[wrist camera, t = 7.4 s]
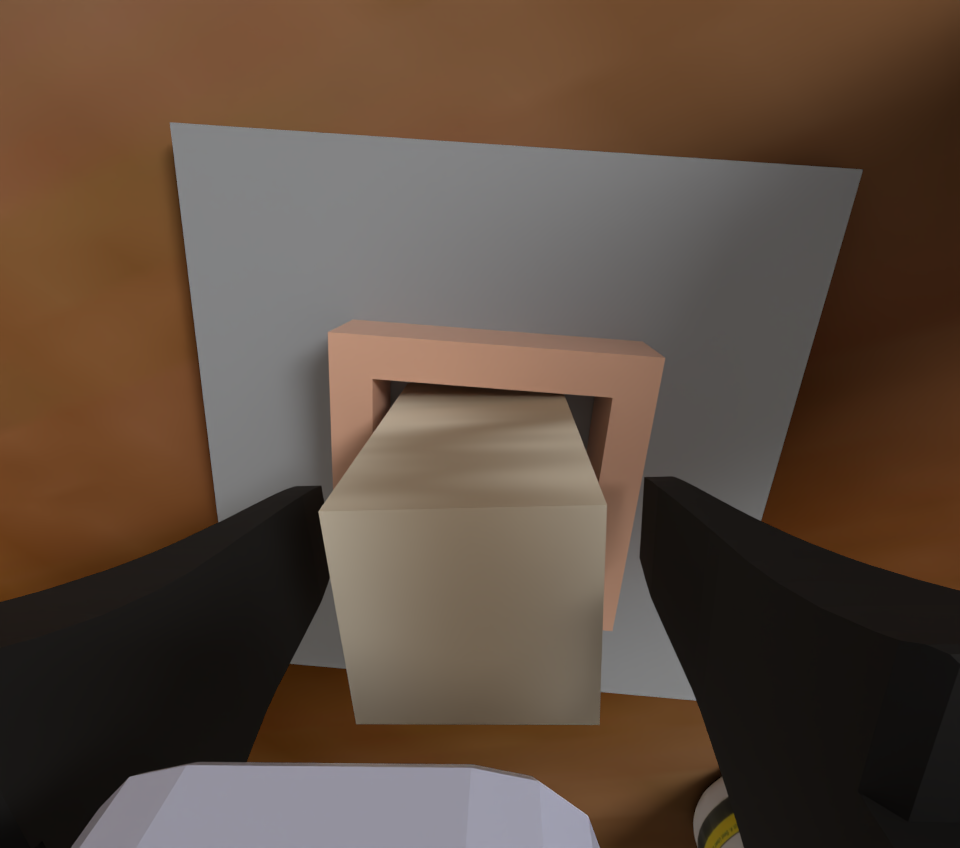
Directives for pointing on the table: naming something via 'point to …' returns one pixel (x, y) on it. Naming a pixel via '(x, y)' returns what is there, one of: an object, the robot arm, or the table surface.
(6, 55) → the table surface
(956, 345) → the table surface
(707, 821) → the pill bottle
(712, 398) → the holder
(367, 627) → the peg
